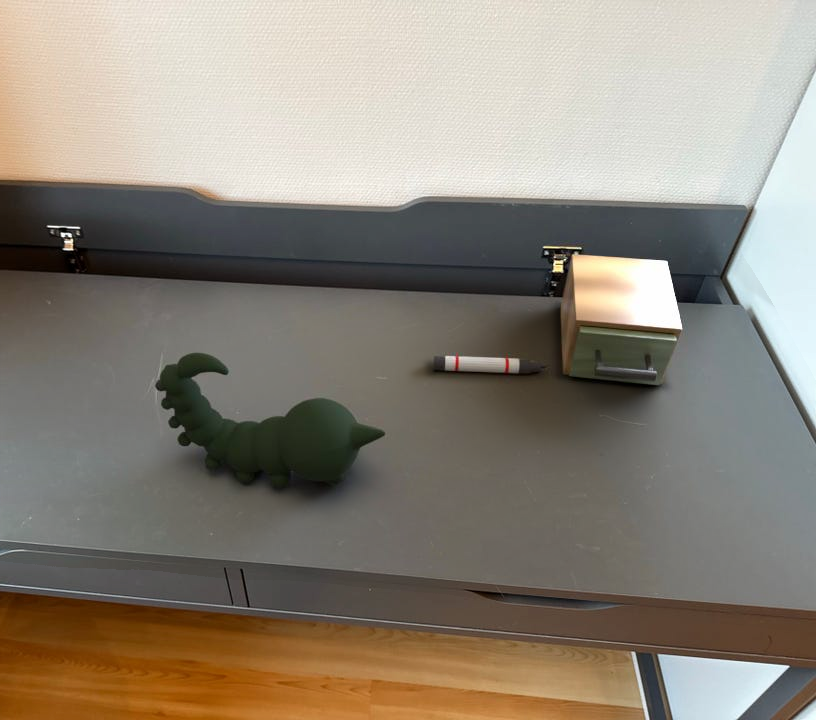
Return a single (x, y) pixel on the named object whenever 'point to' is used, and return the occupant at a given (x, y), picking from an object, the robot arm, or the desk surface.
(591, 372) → the drawer
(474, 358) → the marker
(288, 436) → the toy figurine
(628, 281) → the cabinet
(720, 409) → the desk surface
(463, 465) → the desk surface
